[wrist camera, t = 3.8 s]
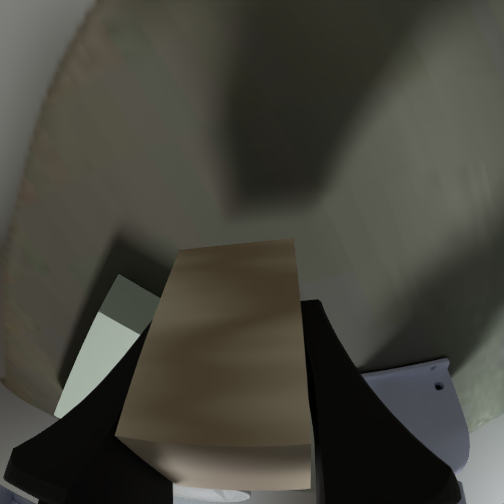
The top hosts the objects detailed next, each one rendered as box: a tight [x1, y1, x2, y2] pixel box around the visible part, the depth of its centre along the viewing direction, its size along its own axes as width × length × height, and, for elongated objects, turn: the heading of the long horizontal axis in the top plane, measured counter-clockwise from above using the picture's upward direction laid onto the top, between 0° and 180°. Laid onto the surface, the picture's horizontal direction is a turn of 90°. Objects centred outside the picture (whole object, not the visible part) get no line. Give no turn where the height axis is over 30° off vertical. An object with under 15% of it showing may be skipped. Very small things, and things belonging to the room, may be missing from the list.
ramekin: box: [173, 483, 251, 502], centre depth 31 cm, size 11×11×5 cm
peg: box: [115, 238, 311, 491], centre depth 9 cm, size 4×4×7 cm
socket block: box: [54, 274, 161, 419], centre depth 22 cm, size 20×10×3 cm, turn 144°
